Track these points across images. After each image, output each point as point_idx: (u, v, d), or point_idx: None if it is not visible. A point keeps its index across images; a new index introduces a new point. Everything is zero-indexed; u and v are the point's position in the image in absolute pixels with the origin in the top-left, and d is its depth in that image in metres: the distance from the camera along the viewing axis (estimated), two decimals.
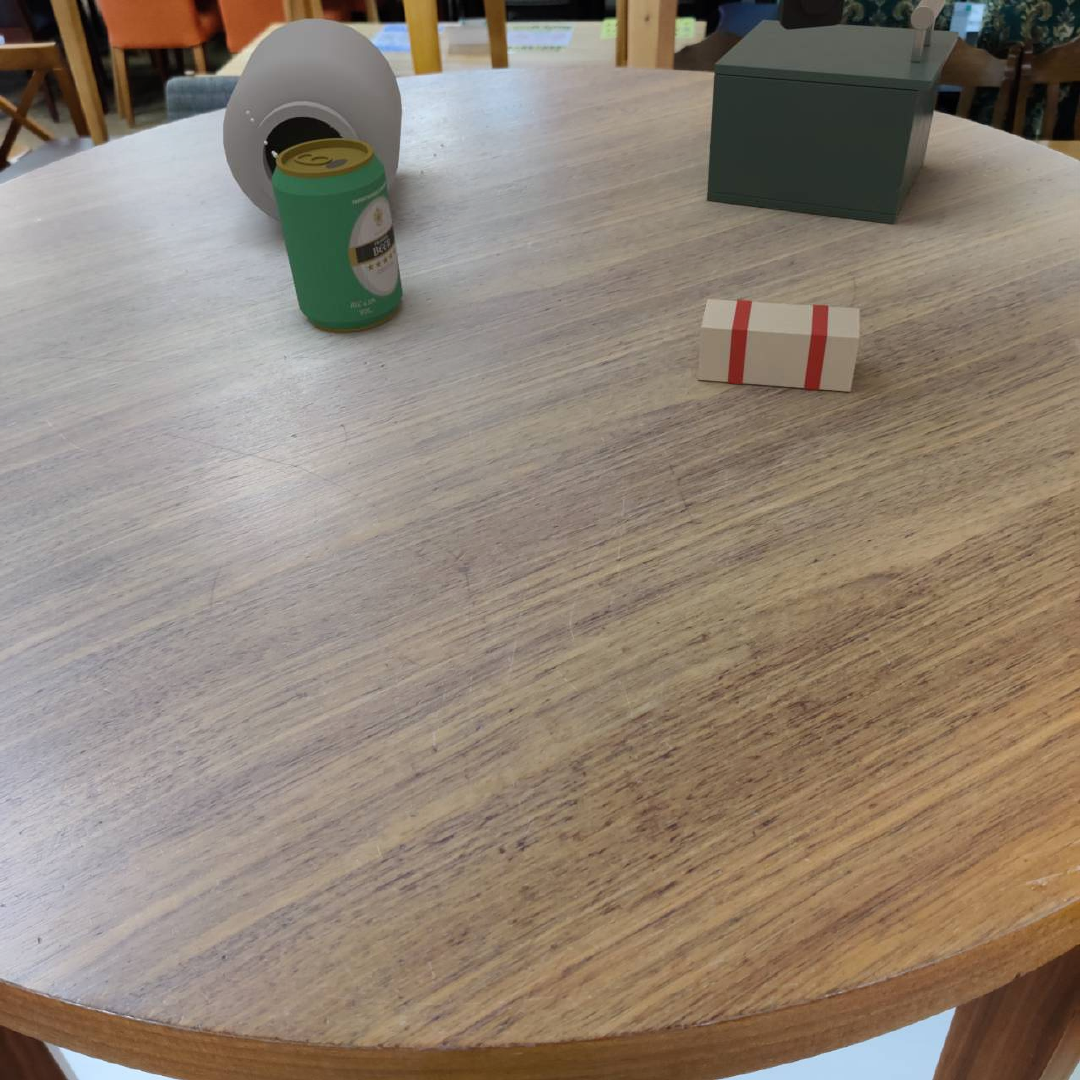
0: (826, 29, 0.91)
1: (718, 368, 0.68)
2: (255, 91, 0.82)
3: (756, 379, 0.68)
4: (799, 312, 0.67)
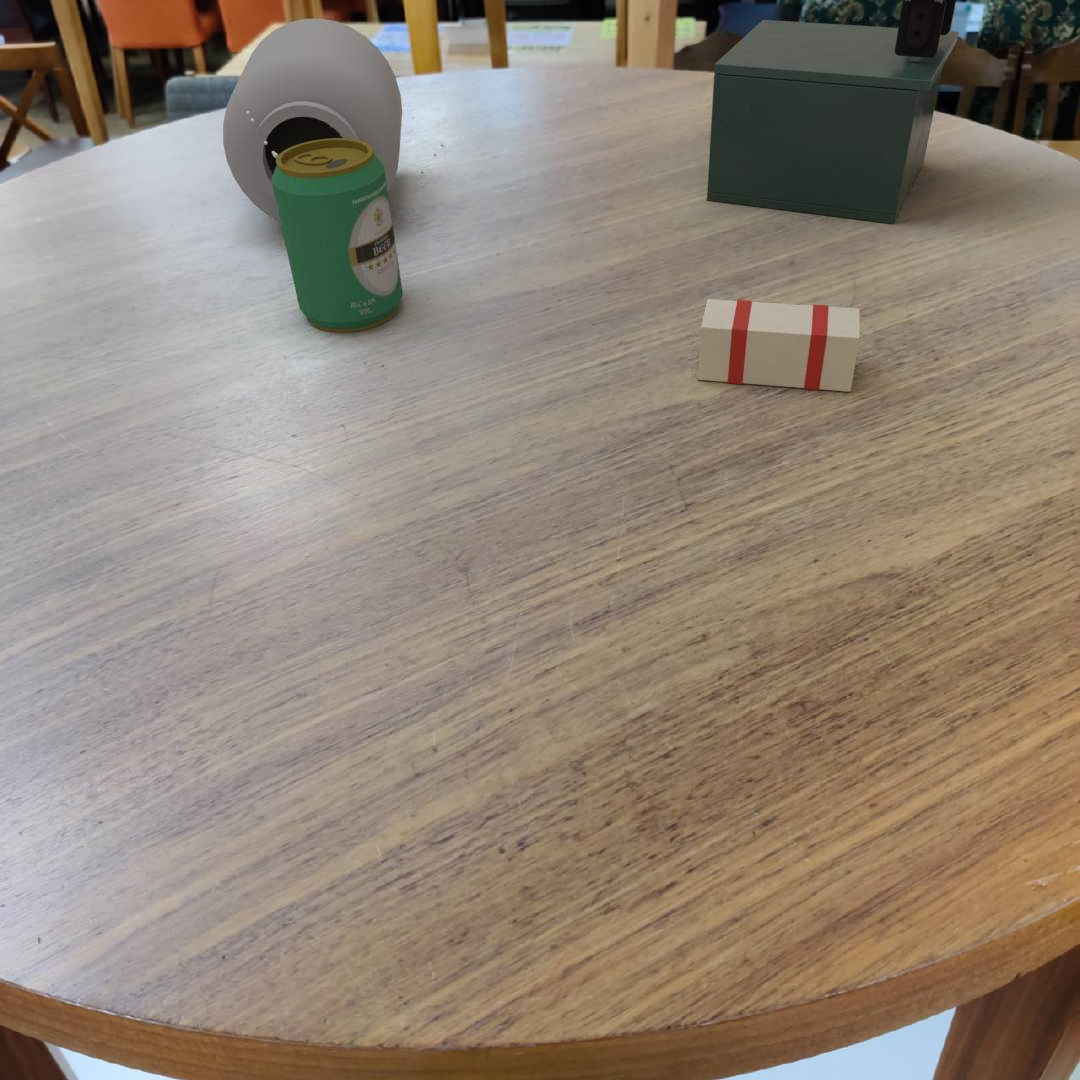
0: (826, 29, 0.91)
1: (718, 368, 0.68)
2: (255, 91, 0.82)
3: (756, 379, 0.68)
4: (799, 312, 0.67)
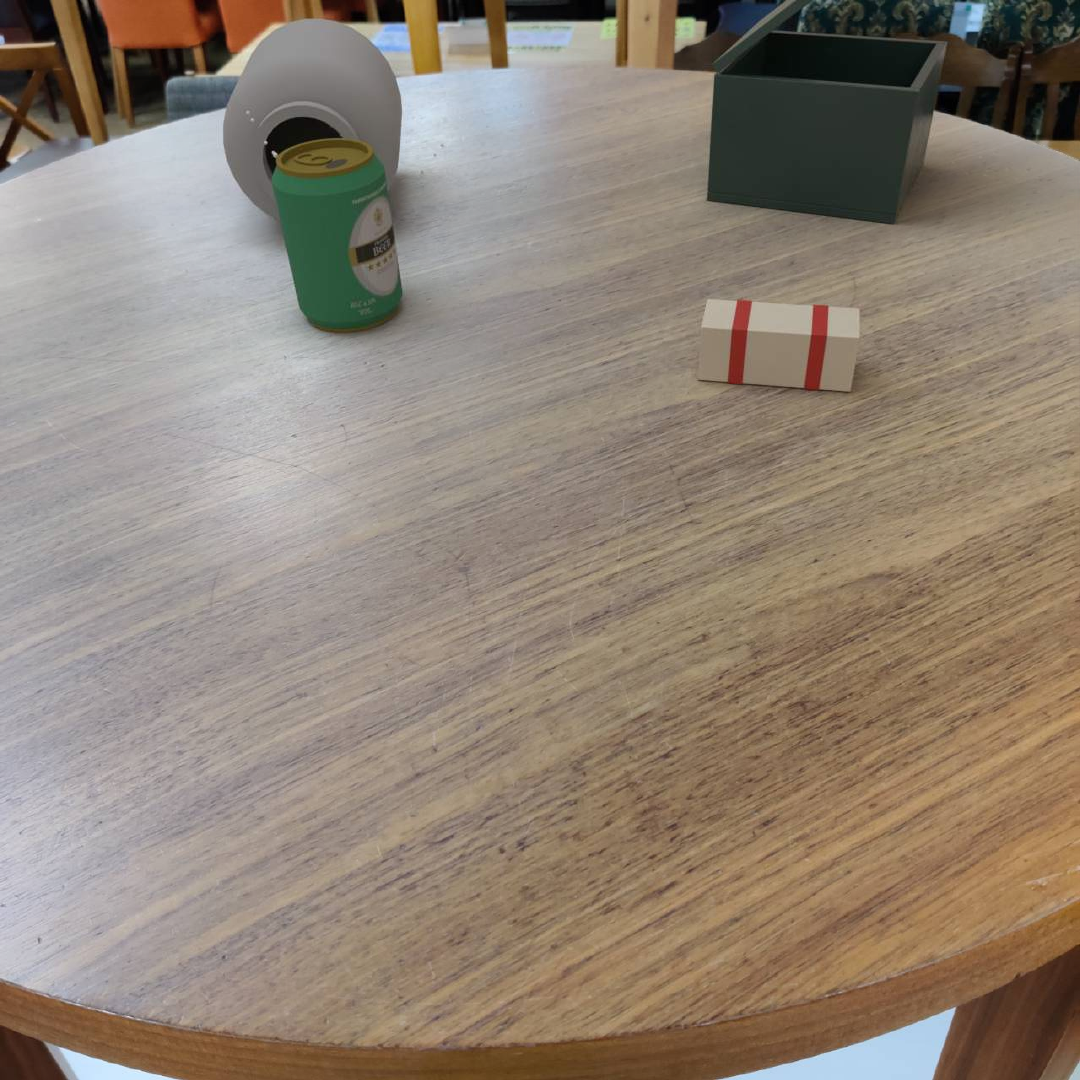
0: None
1: (718, 368, 0.68)
2: (255, 91, 0.82)
3: (756, 379, 0.68)
4: (799, 312, 0.67)
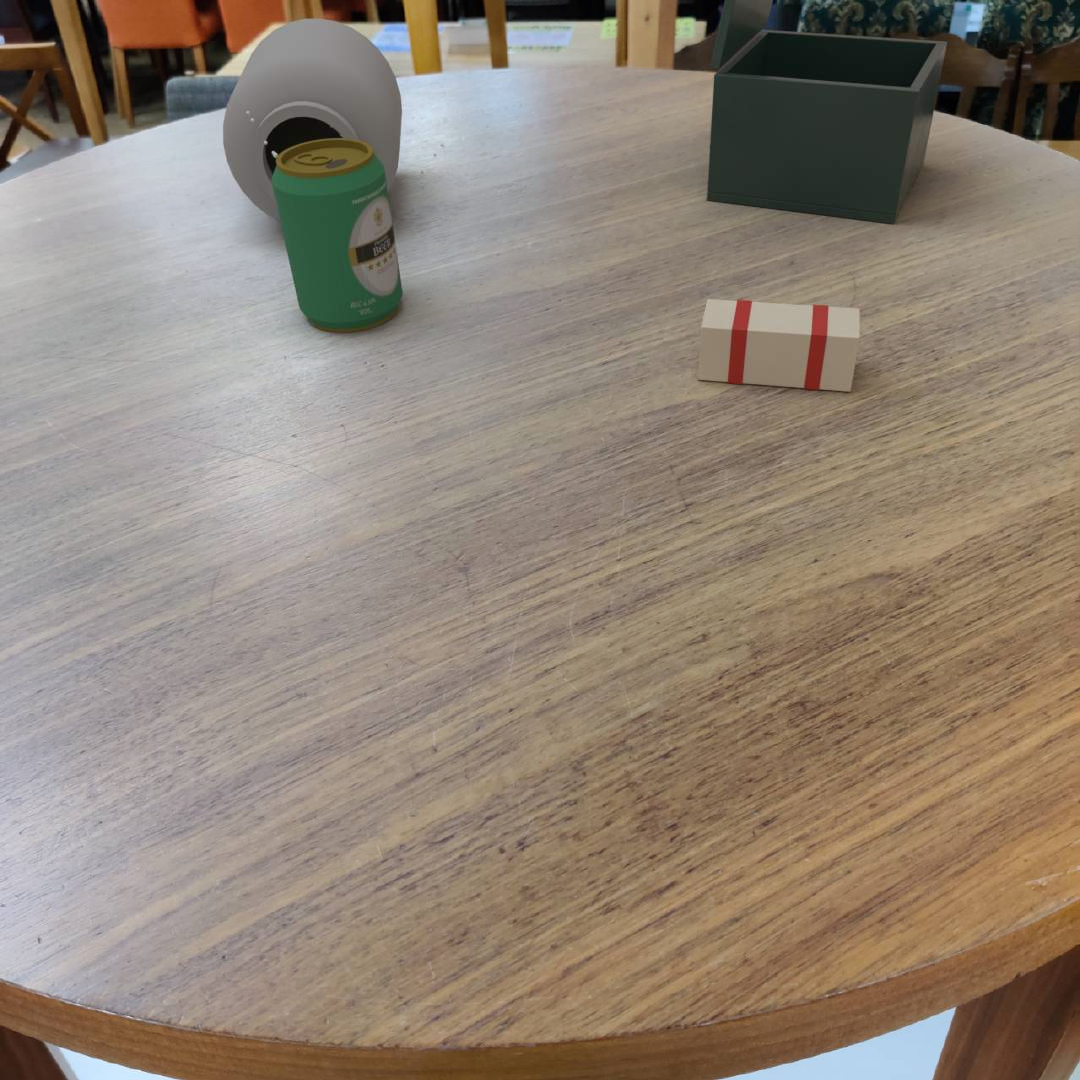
0: None
1: (718, 368, 0.68)
2: (255, 91, 0.82)
3: (756, 379, 0.68)
4: (799, 312, 0.67)
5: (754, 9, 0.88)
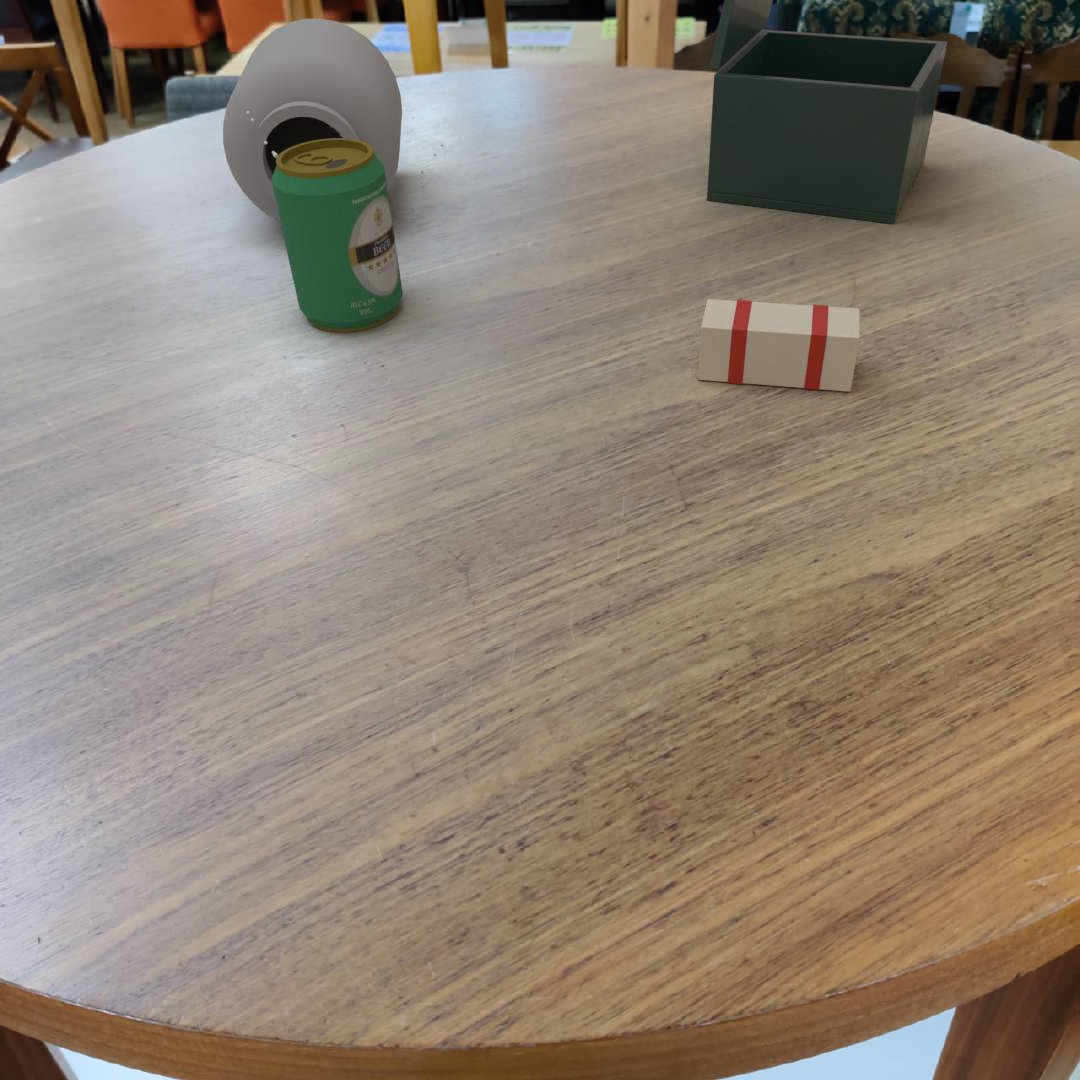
0: None
1: (718, 368, 0.68)
2: (255, 91, 0.82)
3: (756, 379, 0.68)
4: (799, 312, 0.67)
5: (754, 9, 0.88)
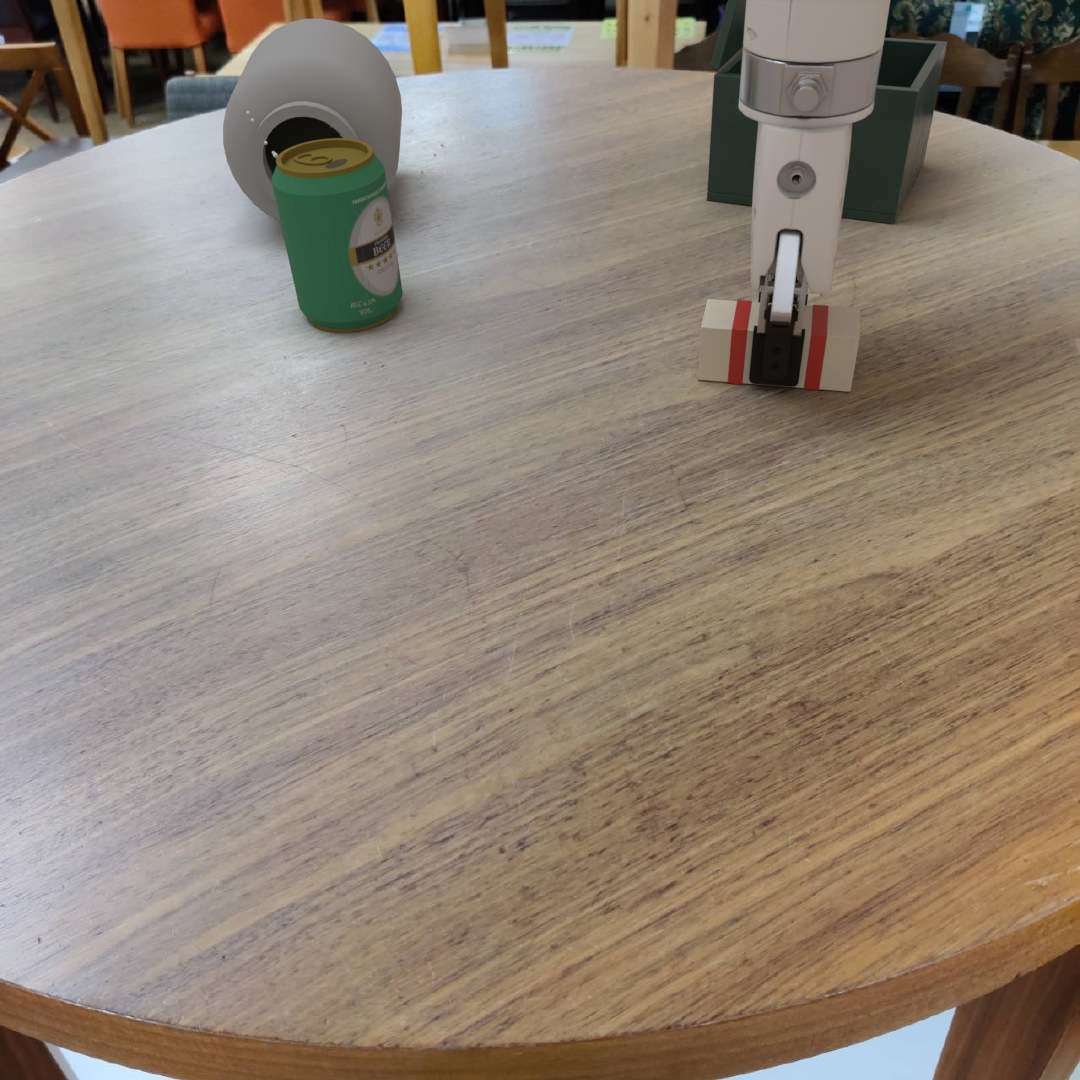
0: None
1: (718, 368, 0.68)
2: (255, 91, 0.82)
3: None
4: None
5: None
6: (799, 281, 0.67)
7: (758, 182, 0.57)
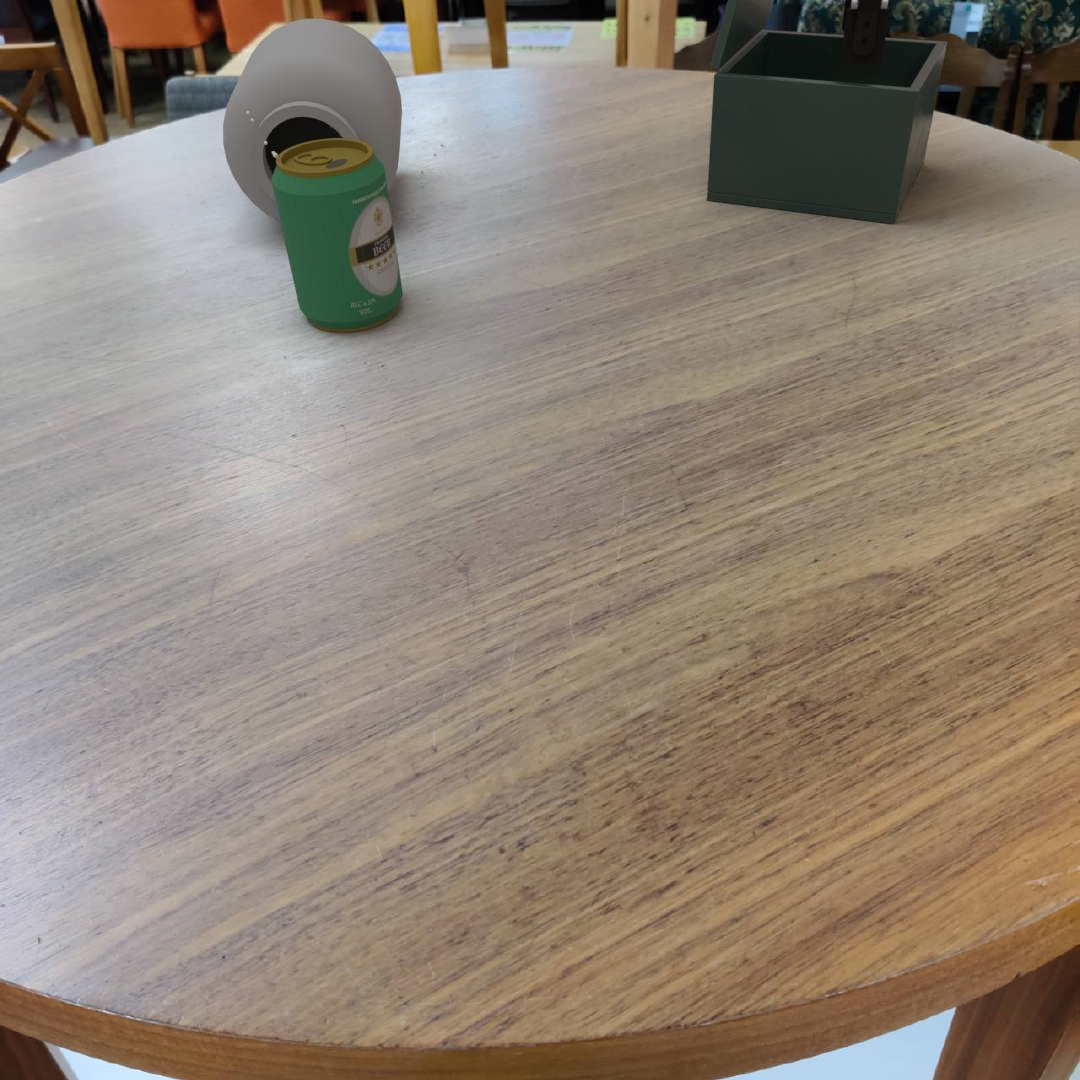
0: None
1: None
2: (255, 91, 0.82)
3: None
4: None
5: (755, 10, 0.88)
6: None
7: None
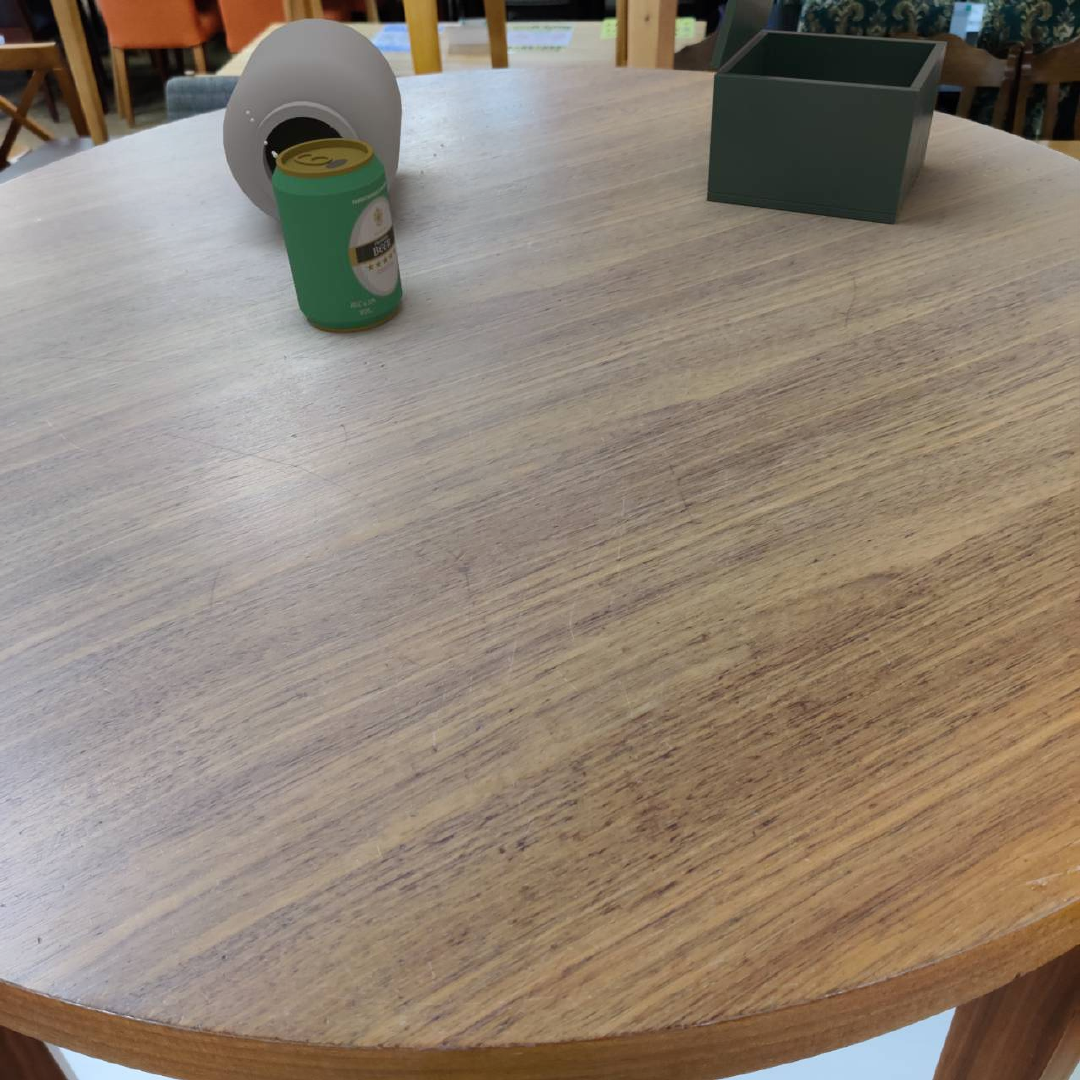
0: None
1: None
2: (255, 91, 0.82)
3: None
4: None
5: (755, 10, 0.88)
6: None
7: None
